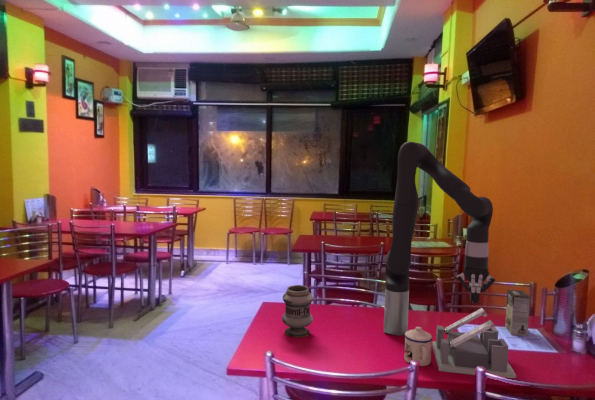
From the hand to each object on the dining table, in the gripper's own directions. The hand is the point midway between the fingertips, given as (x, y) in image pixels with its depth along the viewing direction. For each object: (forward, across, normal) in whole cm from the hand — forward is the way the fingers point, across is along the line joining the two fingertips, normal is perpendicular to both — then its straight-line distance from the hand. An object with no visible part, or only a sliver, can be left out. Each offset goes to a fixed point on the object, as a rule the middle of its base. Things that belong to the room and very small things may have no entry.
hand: (474, 302), depth 148 cm
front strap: (+8, -2, -12) cm, 15 cm away
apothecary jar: (+18, -64, +4) cm, 67 cm away
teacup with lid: (+19, -19, -12) cm, 29 cm away
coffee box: (+19, +22, +26) cm, 39 cm away
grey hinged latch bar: (+8, -2, 0) cm, 9 cm away
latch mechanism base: (+18, -2, -6) cm, 20 cm away
